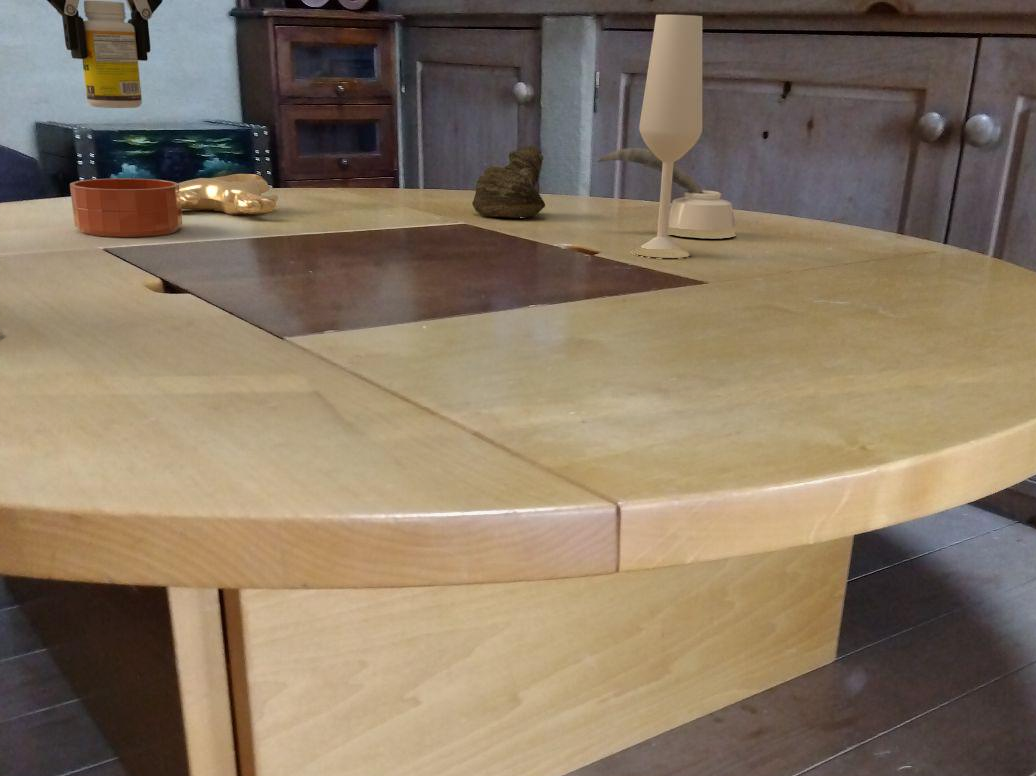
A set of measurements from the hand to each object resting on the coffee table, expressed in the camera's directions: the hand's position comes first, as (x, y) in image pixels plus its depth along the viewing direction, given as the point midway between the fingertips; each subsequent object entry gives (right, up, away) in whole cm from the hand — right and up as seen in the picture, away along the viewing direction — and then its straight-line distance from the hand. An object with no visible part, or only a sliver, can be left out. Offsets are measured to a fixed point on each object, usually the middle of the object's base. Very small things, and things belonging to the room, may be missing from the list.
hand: (109, 57), depth 118 cm
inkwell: (+61, -13, +20) cm, 66 cm away
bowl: (-1, -16, +8) cm, 18 cm away
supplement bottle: (0, -5, +2) cm, 5 cm away
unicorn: (+4, -10, +24) cm, 26 cm away
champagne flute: (+59, -19, +6) cm, 62 cm away
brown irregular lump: (+40, -8, +31) cm, 51 cm away
